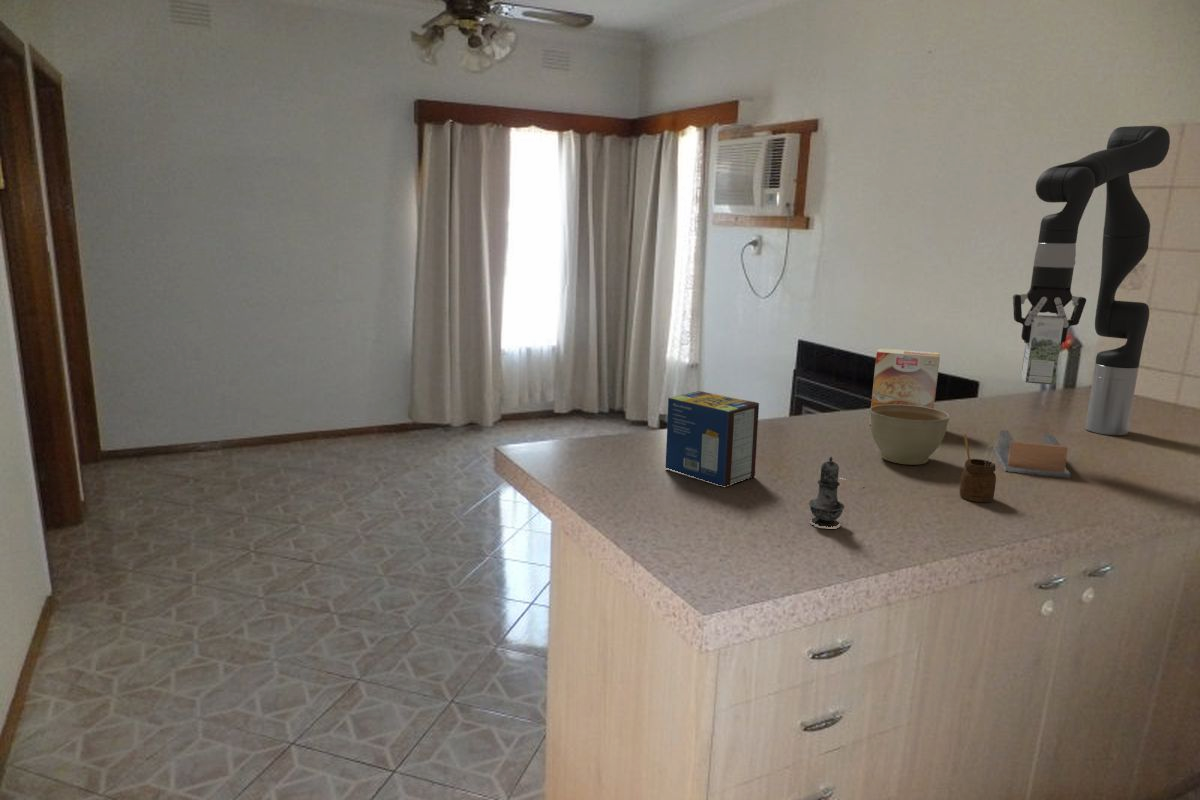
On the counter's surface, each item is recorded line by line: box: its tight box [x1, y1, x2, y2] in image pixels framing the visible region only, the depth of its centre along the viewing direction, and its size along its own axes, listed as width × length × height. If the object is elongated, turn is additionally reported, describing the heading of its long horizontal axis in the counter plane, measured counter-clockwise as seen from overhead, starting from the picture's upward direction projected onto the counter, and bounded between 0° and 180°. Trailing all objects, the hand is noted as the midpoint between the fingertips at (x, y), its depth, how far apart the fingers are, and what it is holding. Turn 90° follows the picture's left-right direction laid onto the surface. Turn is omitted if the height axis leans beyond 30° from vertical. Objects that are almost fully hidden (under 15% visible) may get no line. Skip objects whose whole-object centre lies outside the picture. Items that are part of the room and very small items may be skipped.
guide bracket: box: [993, 429, 1071, 479], centre depth 171 cm, size 18×12×6 cm, turn 161°
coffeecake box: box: [868, 347, 941, 424], centre depth 200 cm, size 15×7×20 cm, turn 68°
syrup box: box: [1020, 314, 1064, 385], centre depth 170 cm, size 6×6×14 cm
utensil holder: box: [959, 433, 1000, 503], centre depth 147 cm, size 6×6×12 cm
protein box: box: [665, 390, 760, 486], centre depth 158 cm, size 10×15×16 cm
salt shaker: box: [808, 456, 845, 527], centre depth 132 cm, size 6×6×12 cm
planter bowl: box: [869, 404, 950, 466], centre depth 171 cm, size 16×16×11 cm
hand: (1042, 343), depth 170 cm, fingers closed on syrup box, 5 cm apart
